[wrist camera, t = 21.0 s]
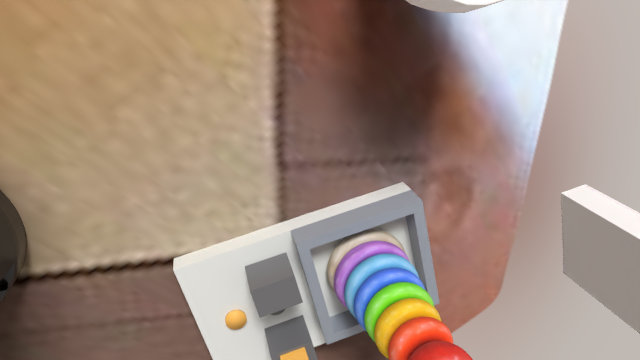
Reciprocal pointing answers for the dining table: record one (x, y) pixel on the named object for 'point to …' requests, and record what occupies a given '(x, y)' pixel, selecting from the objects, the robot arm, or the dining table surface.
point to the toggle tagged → (290, 340)
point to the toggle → (273, 285)
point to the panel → (233, 290)
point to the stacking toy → (389, 298)
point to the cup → (452, 5)
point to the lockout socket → (355, 223)
